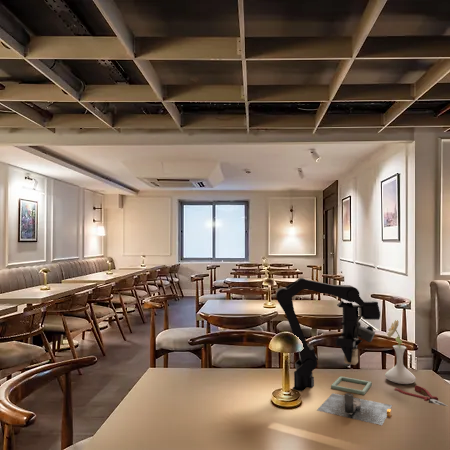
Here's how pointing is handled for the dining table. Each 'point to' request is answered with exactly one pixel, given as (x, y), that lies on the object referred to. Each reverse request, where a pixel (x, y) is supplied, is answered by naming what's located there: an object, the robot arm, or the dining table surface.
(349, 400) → the crank
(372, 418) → the base
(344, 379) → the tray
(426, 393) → the pliers
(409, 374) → the flower in vase
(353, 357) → the block
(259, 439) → the dining table surface
